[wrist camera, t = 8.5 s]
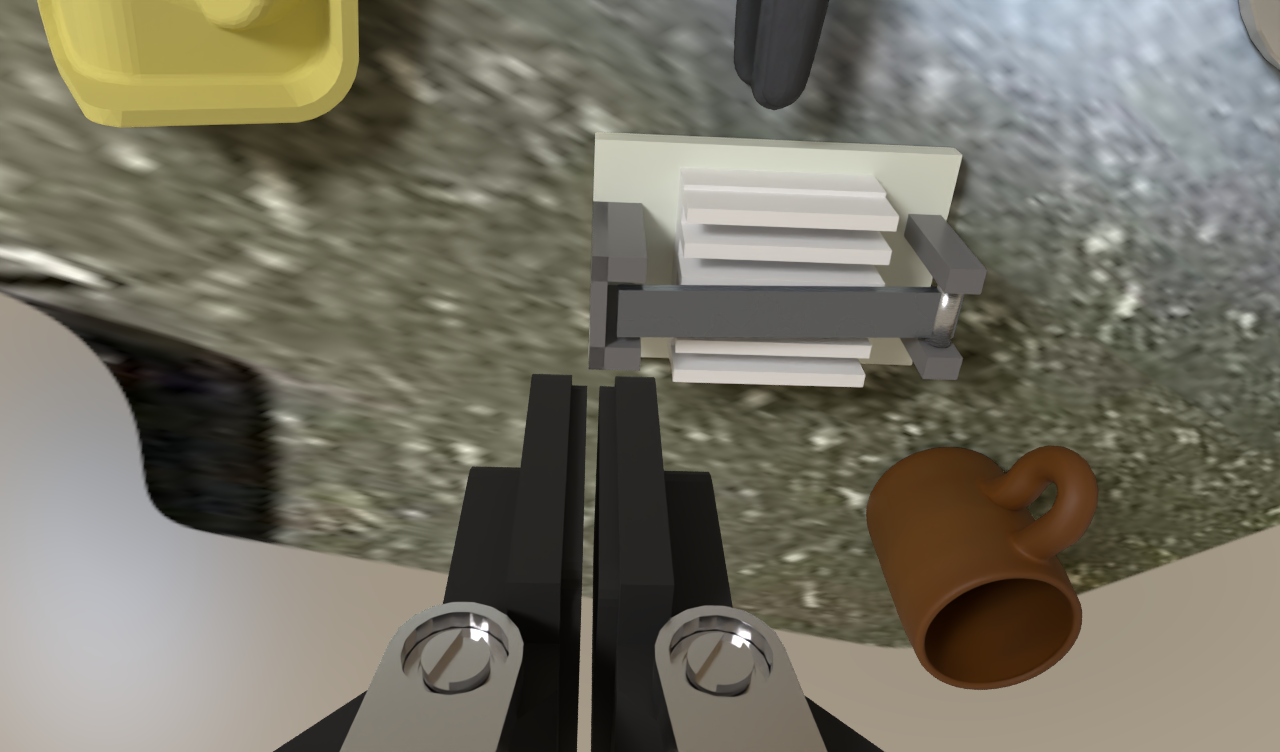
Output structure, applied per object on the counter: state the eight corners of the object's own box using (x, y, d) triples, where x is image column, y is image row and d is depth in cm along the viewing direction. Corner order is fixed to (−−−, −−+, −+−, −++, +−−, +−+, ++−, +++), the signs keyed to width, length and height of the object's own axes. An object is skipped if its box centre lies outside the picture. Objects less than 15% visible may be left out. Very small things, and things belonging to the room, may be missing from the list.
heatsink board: (954, 147, 39) (1013, 204, 33) (905, 354, 44) (949, 433, 38) (595, 131, 38) (594, 187, 32) (589, 344, 43) (587, 424, 37)
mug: (949, 350, 44) (1027, 472, 36) (1084, 394, 45) (1187, 519, 37) (837, 534, 50) (882, 673, 42) (959, 566, 51) (1026, 707, 43)
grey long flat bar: (959, 277, 36) (969, 288, 36) (944, 335, 38) (953, 347, 37) (617, 274, 35) (619, 285, 34) (615, 334, 36) (616, 347, 35)
